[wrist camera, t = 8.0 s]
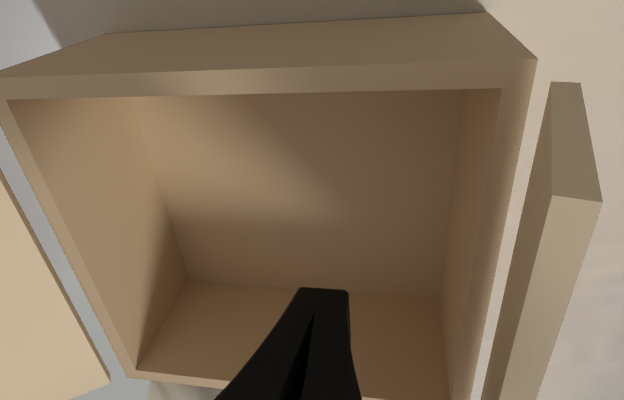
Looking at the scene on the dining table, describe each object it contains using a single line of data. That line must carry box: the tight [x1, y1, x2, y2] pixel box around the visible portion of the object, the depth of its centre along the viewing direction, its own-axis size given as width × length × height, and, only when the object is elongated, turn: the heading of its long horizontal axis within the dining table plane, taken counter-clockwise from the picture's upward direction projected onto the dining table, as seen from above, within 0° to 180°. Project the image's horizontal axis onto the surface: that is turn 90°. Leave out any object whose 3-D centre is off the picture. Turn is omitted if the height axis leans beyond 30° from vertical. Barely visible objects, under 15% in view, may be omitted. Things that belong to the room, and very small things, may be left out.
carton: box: [0, 12, 538, 400], centre depth 16 cm, size 13×14×6 cm
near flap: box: [481, 82, 603, 400], centre depth 10 cm, size 12×4×1 cm
